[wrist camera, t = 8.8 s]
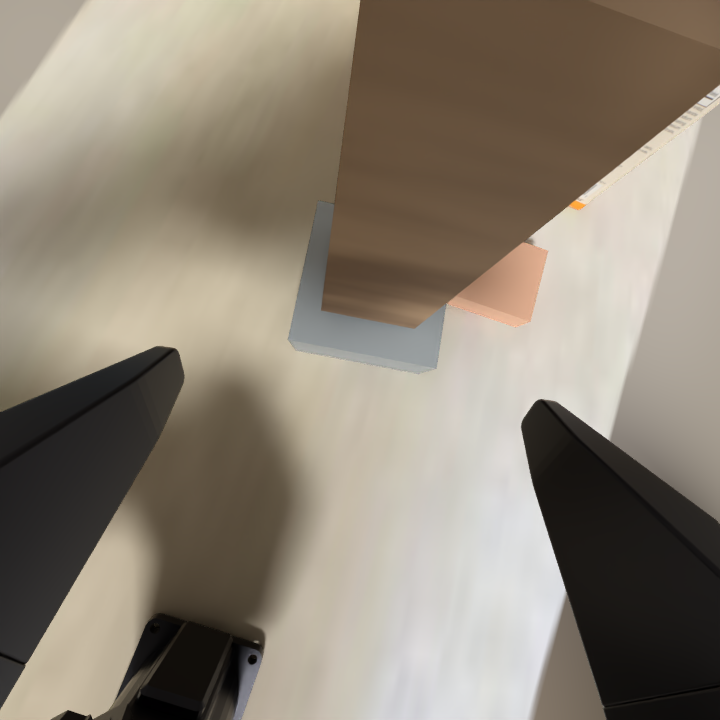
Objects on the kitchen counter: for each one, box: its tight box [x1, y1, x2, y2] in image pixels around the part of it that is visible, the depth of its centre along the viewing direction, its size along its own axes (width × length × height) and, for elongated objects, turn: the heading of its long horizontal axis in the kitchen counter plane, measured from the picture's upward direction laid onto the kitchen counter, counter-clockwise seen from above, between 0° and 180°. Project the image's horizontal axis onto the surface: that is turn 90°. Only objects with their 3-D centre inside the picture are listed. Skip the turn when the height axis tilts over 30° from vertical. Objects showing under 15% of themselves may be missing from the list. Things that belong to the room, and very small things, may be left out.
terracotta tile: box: [447, 242, 548, 327], centre depth 21 cm, size 5×5×2 cm
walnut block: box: [321, 0, 720, 329], centre depth 10 cm, size 5×5×13 cm
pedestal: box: [288, 200, 446, 374], centre depth 19 cm, size 8×8×4 cm
